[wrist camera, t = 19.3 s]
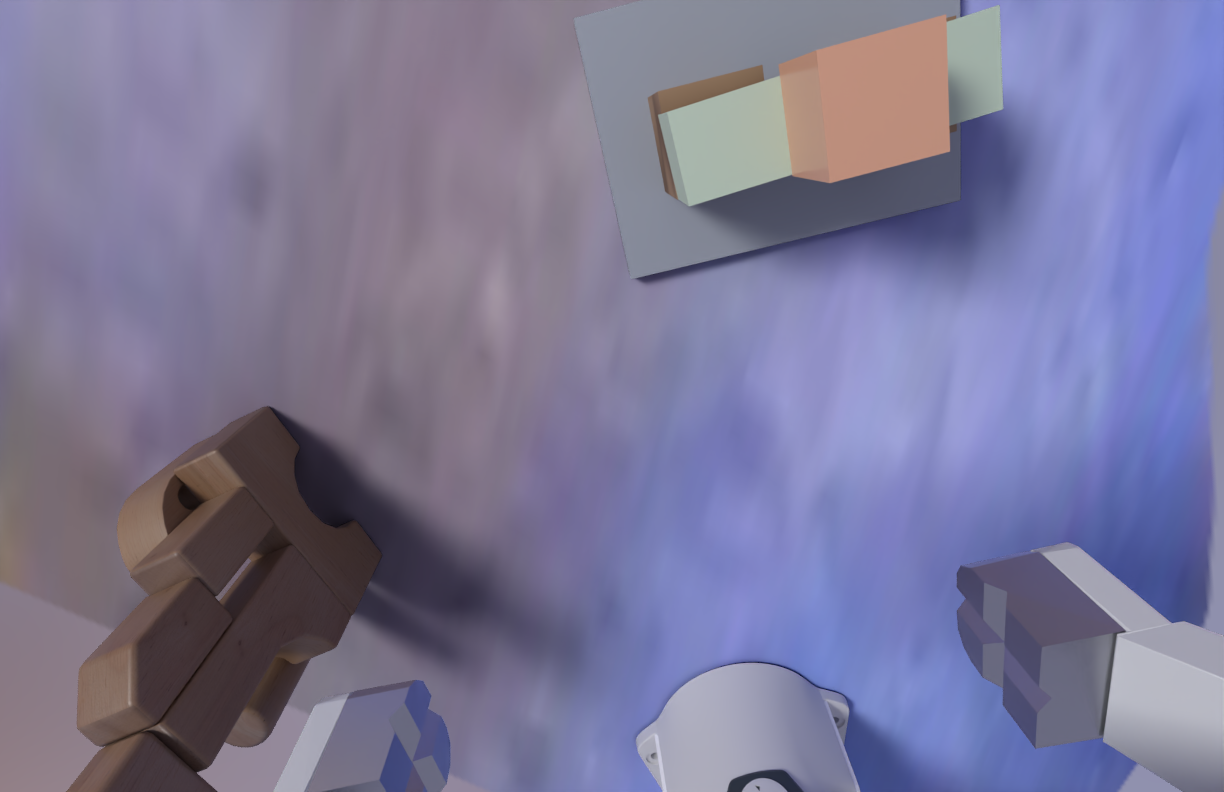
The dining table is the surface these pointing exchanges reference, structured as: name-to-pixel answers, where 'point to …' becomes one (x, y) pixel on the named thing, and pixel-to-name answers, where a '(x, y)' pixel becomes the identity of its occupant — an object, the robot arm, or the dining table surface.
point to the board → (716, 45)
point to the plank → (756, 128)
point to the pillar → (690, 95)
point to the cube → (868, 102)
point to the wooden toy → (215, 610)
